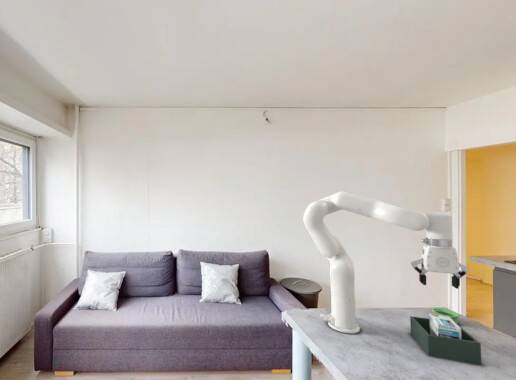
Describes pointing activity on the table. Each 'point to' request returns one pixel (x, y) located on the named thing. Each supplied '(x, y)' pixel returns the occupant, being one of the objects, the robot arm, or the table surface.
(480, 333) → the table surface
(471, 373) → the table surface
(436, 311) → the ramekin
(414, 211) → the robot arm
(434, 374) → the table surface
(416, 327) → the open storage box
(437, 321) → the light bulb box
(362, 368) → the table surface
